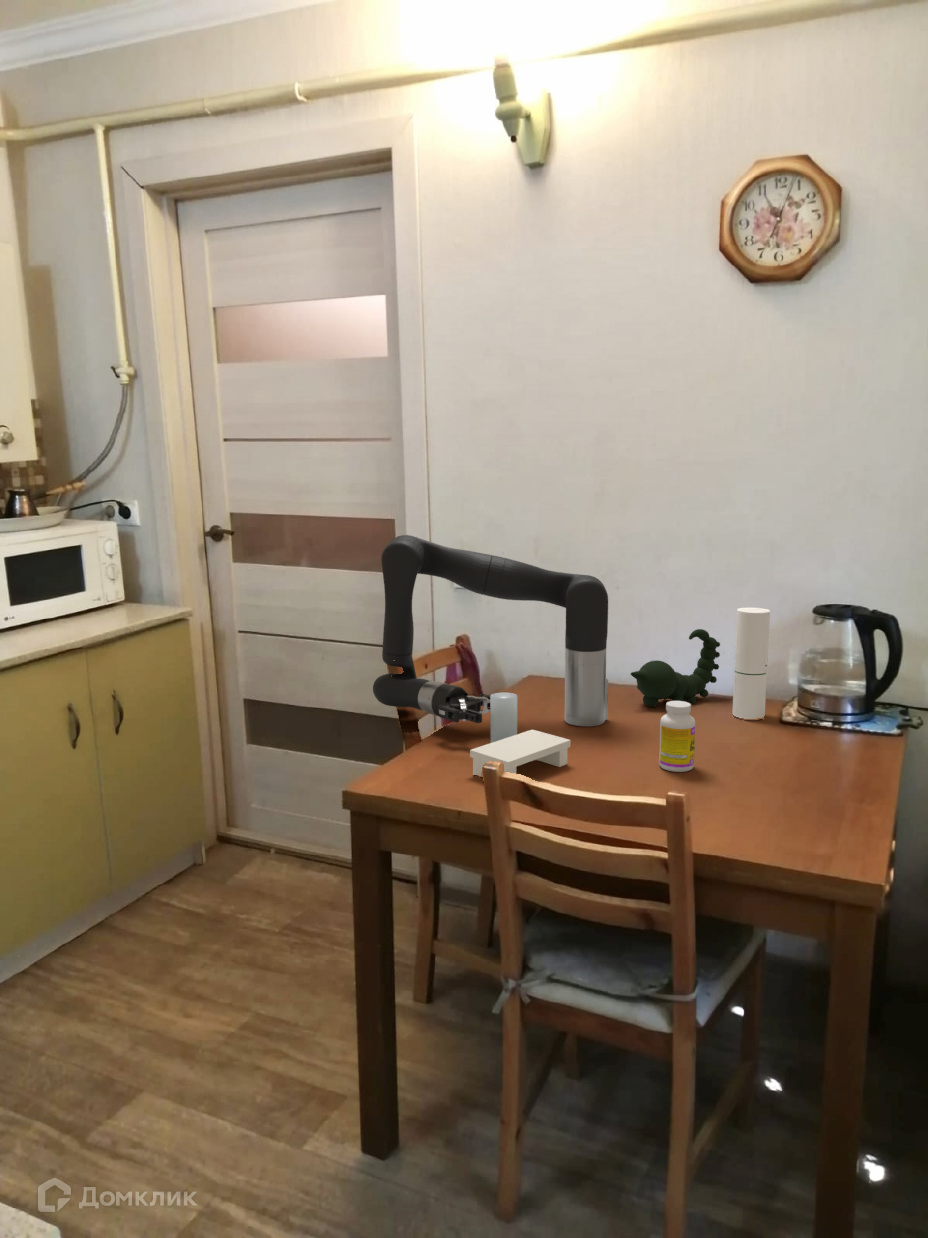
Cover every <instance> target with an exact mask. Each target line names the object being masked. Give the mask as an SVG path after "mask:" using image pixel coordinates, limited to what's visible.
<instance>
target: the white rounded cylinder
mask: <svg viewBox="0 0 928 1238" xmlns="http://www.w3.org/2000/svg"><path fill="white" fill-rule="evenodd" d="M490 695H491V696H490V712H489V713H490V715H489V716H490V743H493V742H496V741H499V740H502V739H505V738H508V737H511V736H514V735H517V734H518V695H517V694H515V693H512V692H506V691H505V692H495V693H491V694H490Z"/></svg>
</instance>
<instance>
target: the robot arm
mask: <svg viewBox="0 0 928 1238" xmlns="http://www.w3.org/2000/svg"><path fill="white" fill-rule="evenodd" d="M380 559H381V560H380V561H381V568H382V570H381V571H382V576H383V577H382V578H383V579H382V580H383V588H384V617H383V618H384V621H383V622H384V623H383V635H382V650H381V651H382V654H381V656H382V662H383V663H385V665H388V666H391V667H396V666H397V667H402V668H403V671H404V672H403V673H402V674H393V672H389V673H386V674H382V675H380V676H378V677H377V678H376V679H375V680H374V682H373V685H372V691H373V693H372V694H373V696H374V697H375V699H376V700H377V701H378V702H379V703H380V704H382V705H384V706H388V707H396V708H397V707H398V708H413V709H417V710H419V711H422V712H426V713H427V714H429V715H432V716H436V717H439V718H441V719H444V720H448V721H450V722H453V723H459V722H460V720H461V721H462V722H467V721H469V722H472V723H475V724H481V723H482V722H483V714H484V715H485V714H487V713H490V696H491V695H492V694H485V693H481V694H480V693H479V696H475V695H468V692H467V690H465V688H463V687H461V686H457V685H453V684H449V683H445V682H441V681H434V680H428V679H425V678H419V677H417V674H416V673H417V672H416V669H415V664H414V663H415V662H414V660H413V651H414V632H415V631H414V628H415V627H414V617H413V594H414V589H415V586H416V585H415V583H416V580H417V576H418V575H427V576H433V577H438V578H442V579H445V580H447V581H449V582H451V583H454V584H456V585H458V586H460V587H462V588H463V589H465V590H468V591H470V592H473V593H475V594H478V595H481V596H486V597H492V598H496V599H500V600H509V601H531V602H532V601H534V602H535V601H536V602H541V603H542V602H543V603H547V604H551V605H555V606H558V607H561V608H565V632H564V633H565V639H564V640H565V641H564V643H565V644H564V645H565V646H564V649H565V651H564V660H565V661H564V722H565V723H567V724H568V725H571V726H577V727H597V726H601V725H602V724H604V723H606V720H608V712H609V711H608V709H609V708H608V705H609V704H608V702H609V700H608V699H609V679H608V678H607V643H608V642H607V640H608V630H609V629H608V628H609V627H608V624H609V622H608V621H609V594H608V592H607V589H606V587H605V584H603V582H602V581H601V580H600V579H599V578H597V577H595V576H593V575H590V574H578V573H569V572H561V571H554V570H553V571H552V570H548V569H545V568H543V567H539V566H535V565H532V564H529V563H526V562H521V561H518V560H515V559H511V558H507V557H503V556H498V555H494V554H488V553H482V552H477V551H471V550H466V549H460V548H453V547H449V546H445V545H441V544H438V543H435V542H432V541H428V540H425V539H423V538H420V537H418V536H414V535H409V534H402V535H398V536H396V537H394V538H392V540H390V542H389V543H387V545H386V546H385V548H384V549H383V551H382V553H381V558H380ZM393 660H395V661H393ZM390 673H391V674H390ZM391 675H392V677H391ZM481 707H483V709H482V708H481Z"/></svg>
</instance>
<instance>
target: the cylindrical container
mask: <svg viewBox="0 0 928 1238" xmlns="http://www.w3.org/2000/svg"><path fill="white" fill-rule="evenodd" d="M770 620H771V610H770V609H767V608H761V607H740V608H739V607H738V608H737V610H736V629H735V631H736V632H735V646H734V648H735V649H734V670H733V671H734V672H733V674H734V675H733V693H732V694H733V695H732V712H731V713H732V714H733V715H734V716H736V717H739V718H744V719H757V718H762V717H764V716H765V715H766V697H767V679H768V678H767V677H768V676H767V675H768V660H769V659H768V658H769V657H768V656H769V638H770V636H769V635H770ZM732 714H731V715H732ZM765 717H766V716H765Z"/></svg>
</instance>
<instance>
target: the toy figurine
mask: <svg viewBox="0 0 928 1238" xmlns="http://www.w3.org/2000/svg"><path fill="white" fill-rule="evenodd" d="M694 638H698V639H699V640H701V641H702V648H701V649H700V651H699V652H700V653H699V654H700V656H699V657H700V658H699V659H698V660H697V662H696V666H697V667H696V668H695V669H694V670H693V672H692V674H691V673H690V675H688V674H682V673H680V672H678V671H675V669H674V668H673V667H672V666H671V664H669V663H667V662H665V661H662V660H650V661H648V662H646V663H645V664H642V666H640V669H639V670H635V671H632V672H630V676H631V677H633V678H634V679H635V680H636V688H637V690H639V692H640V693H641V695H643V697H642V702H643V703H644V705H645V706H647V707H649V706H650V707H649V708H655V707H656V706H658V704H659V701H660V700H670V701H687V702H688V703H690V704H692V703H693V704H695V703H696V702H697V697H696V696H697V695H699V696H700V697H702V698H706V697H708V696H709V691H708V690H707V689H706V687H707V685H708V684H709V683H711V684H715V683H716V682H717V681H718V679H717V677H716V676H715V675H713V671H714V670H715V671H717V670H719V668H720V665H719V664H718V663H716V661H715V660H716V659H717V658H719V657H720V656H721V653H720V652H719V651H717V650H716V649H717V648H719V647H720V646H721V642H719V641H717V639H716V638H714V637H711V636H710V633H709V631H707V630H706V629H702V628H699V629H698V628H697V629H695V630H693V631H692V632H690V634H689V637H688V640H690V641H691V640H693V639H694Z"/></svg>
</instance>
